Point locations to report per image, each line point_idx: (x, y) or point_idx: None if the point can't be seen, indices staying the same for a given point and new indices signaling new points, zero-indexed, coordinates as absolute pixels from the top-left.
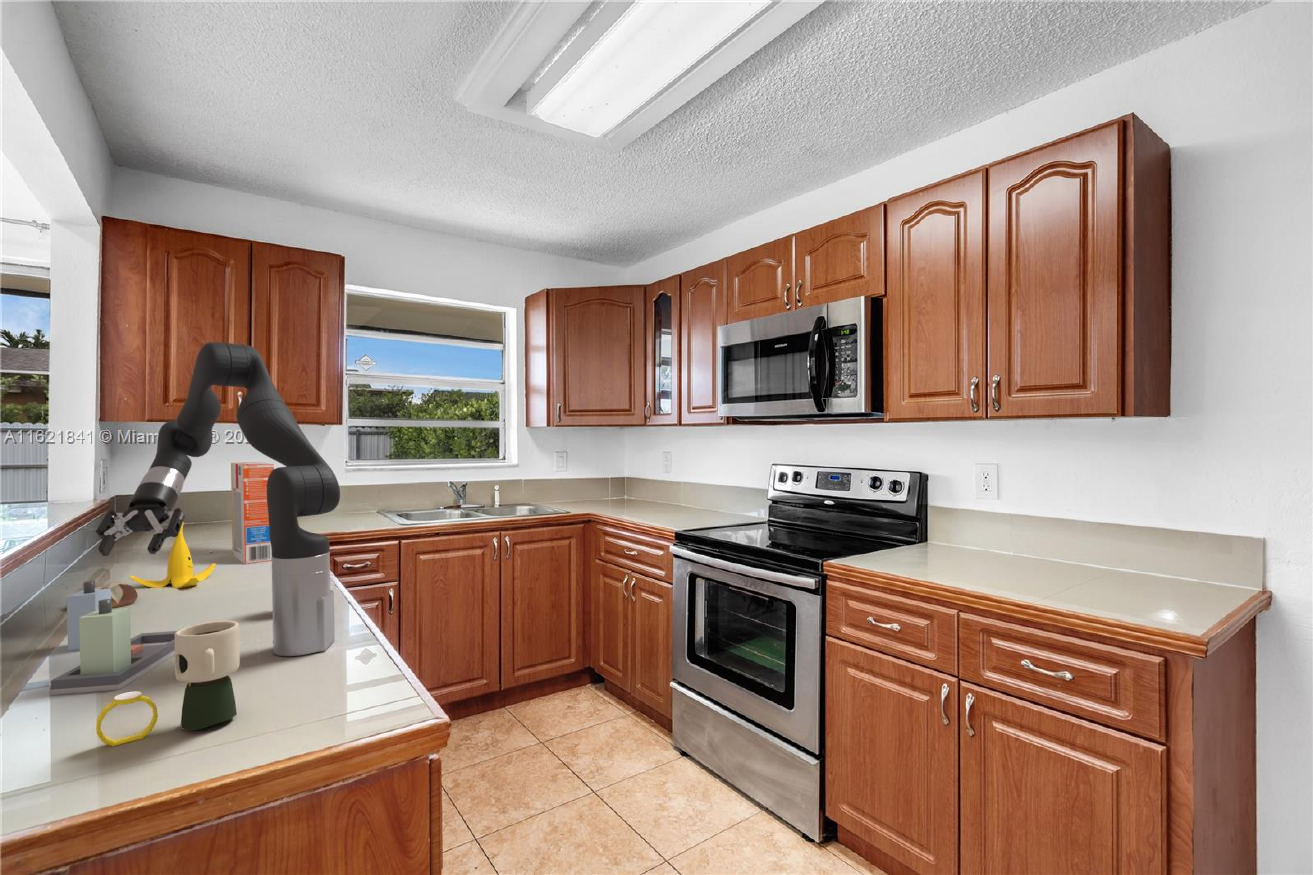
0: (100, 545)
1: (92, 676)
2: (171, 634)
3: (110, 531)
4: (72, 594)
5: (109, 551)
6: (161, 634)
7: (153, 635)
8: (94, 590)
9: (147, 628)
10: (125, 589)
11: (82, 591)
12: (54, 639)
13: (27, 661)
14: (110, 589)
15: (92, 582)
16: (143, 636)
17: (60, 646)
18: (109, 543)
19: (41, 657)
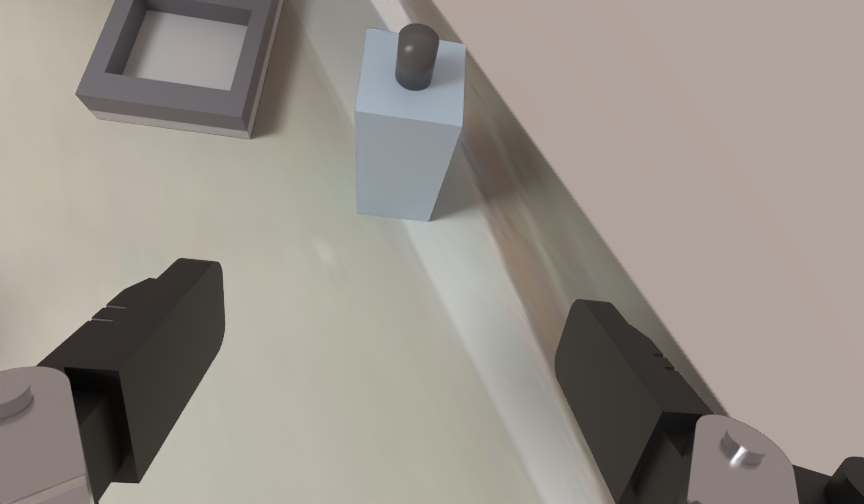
0: (654, 352)
1: None
2: (145, 80)
3: (733, 461)
4: (460, 63)
5: (569, 386)
6: (174, 83)
7: (198, 87)
8: (395, 69)
9: (302, 327)
10: None
11: (451, 100)
12: (538, 288)
13: (479, 108)
14: (355, 110)
15: (401, 33)
16: (227, 92)
17: (476, 207)
18: (607, 382)
19: (465, 127)
